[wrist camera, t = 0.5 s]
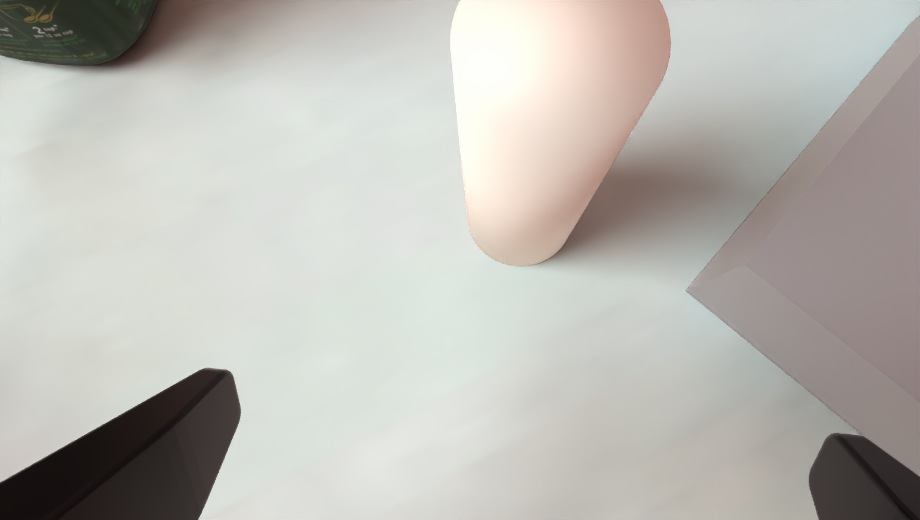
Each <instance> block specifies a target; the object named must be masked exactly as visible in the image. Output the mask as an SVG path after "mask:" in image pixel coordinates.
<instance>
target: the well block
mask: <svg viewBox="0 0 920 520" xmlns="http://www.w3.org/2000/svg"><path fill="white" fill-rule="evenodd" d="M686 291H687V292H688V293H689V294H691V295H692V296H693V297H694V298H695V299H697V300H698V301H699V302H700V303H702V304H703V305H704V306H705V307H706V308H708V309H709V310H710V311H711V312H713V313H714V314H715V315H716V316H717V317H719V318H720V319H721V320H722V321H724V322H725V323H726V324H727V325H729V326H730V327H731V328H732V329H733V330H735V331H736V332H737V333H738V334H740V335H741V336H742V337H743V338H744V339H746V340H747V341H748V342H749V343H751V344H752V345H753V346H754V347H755V348H757V349H758V350H759V351H760V352H762V353H763V354H764V355H765V356H766V357H768V358H769V359H770V360H771V361H773V362H774V363H775V364H776V365H777V366H779V367H780V368H781V369H782V370H784V371H785V372H786V373H787V374H789V375H790V376H791V377H792V378H793V379H795V380H796V381H797V382H798V383H800V384H801V385H802V386H803V387H804V388H806V389H807V390H808V391H809V392H811V393H812V394H813V395H814V396H815V397H817V398H818V399H819V400H820V401H822V402H823V403H824V404H825V405H826V406H828V407H829V408H830V409H831V410H833V411H834V412H835V413H836V414H837V415H839V416H840V417H841V418H842V419H844V420H845V421H846V422H847V423H849V424H850V425H851V426H852V427H853V428H855V429H856V430H857V431H858V432H860V433H861V434H862V435H863V436H864V437H866V438H867V439H868V440H870V441H871V442H873V443H874V444H876V445H877V446H878V447H880V448H881V449H882V450H884V451H885V452H887V453H888V454H889V455H891V456H892V457H894V458H895V459H896V460H898V461H899V462H900V463H902V464H903V465H905V466H906V467H907V468H909V469H910V470H911V471H913V472H914V473H916V474H917V475H918V476H920V16H918V17H917V18H916V19H915V20H914V21H912V22H911V24H910V25H909V26H908V27H907V28H906V30H905V31H904V32H903V33H902V34H901V36H900V37H899V38H898V39H897V40H896V41H895V43H894V44H893V45H892V46H891V47H890V49H889V50H888V51H887V52H886V53H885V55H884V56H883V57H882V58H881V59H880V60H879V62H878V63H877V64H876V65H875V66H874V68H873V69H872V70H871V71H870V72H869V73H868V75H867V76H866V77H865V78H864V79H863V81H862V82H861V83H860V84H859V85H858V87H857V88H856V89H855V90H854V91H853V92H852V94H851V95H850V96H849V97H848V98H847V100H846V101H845V102H844V103H843V104H842V106H841V107H840V108H839V109H838V110H837V111H836V113H835V114H834V115H833V116H832V117H831V119H830V120H829V121H828V122H827V123H826V125H825V126H824V127H823V128H822V129H821V130H820V132H819V133H818V134H817V135H816V136H815V138H814V139H813V140H812V141H811V142H810V144H809V145H808V146H807V147H806V148H805V149H804V151H803V152H802V153H801V154H800V155H799V157H798V158H797V159H796V160H795V161H794V163H793V164H792V165H791V166H790V167H789V168H788V170H787V171H786V172H785V173H784V174H783V176H782V177H781V178H780V179H779V180H778V181H777V183H776V184H775V185H774V186H773V187H772V189H771V190H770V191H769V192H768V193H767V195H766V196H765V197H764V198H763V199H762V200H761V202H760V203H759V204H758V205H757V206H756V208H755V209H754V210H753V211H752V212H751V214H750V215H749V216H748V217H747V218H746V219H745V221H744V222H743V223H742V224H741V225H740V227H739V228H738V229H737V230H736V231H735V233H734V234H733V235H732V236H731V237H730V238H729V240H728V241H727V242H726V243H725V244H724V246H723V247H722V248H721V249H720V250H719V252H718V253H717V254H716V255H715V256H714V257H713V259H712V260H711V261H710V262H709V263H708V265H707V266H706V267H705V268H704V269H703V271H702V272H701V273H700V274H699V275H698V276H697V278H696V279H695V280H694V281H693V282H692V284H691V285H690V286H689V287H688V288H687V289H686Z"/></svg>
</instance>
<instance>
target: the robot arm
mask: <svg viewBox="0 0 920 520" xmlns="http://www.w3.org/2000/svg"><path fill="white" fill-rule="evenodd" d="M240 415H241V407H240V403H239V398H238V394H237V390H236V385H235V381H234V377H233V375H232V373H231V372H230V371H228V370H224V369H214V368H204V369H201V370H199V371H197V372H196V373H194V374H192V375H190V376H188V377H187V378H185V379H183V380H181V381H180V382H178V383H176V384H174V385H172V386H171V387H169V388H167V389H165V390H164V391H162V392H160V393H158V394H157V395H155V396H153V397H151V398H149V399H148V400H146V401H144V402H142V403H141V404H139V405H137V406H135V407H133V408H132V409H130V410H128V411H126V412H125V413H123V414H121V415H119V416H118V417H116V418H114V419H112V420H110V421H109V422H107V423H105V424H103V425H102V426H100V427H98V428H96V429H94V430H93V431H91V432H89V433H87V434H86V435H84V436H82V437H80V438H79V439H77V440H75V441H73V442H71V443H70V444H68V445H66V446H64V447H63V448H61V449H59V450H57V451H55V452H54V453H52V454H50V455H48V456H47V457H45V458H43V459H41V460H39V461H38V462H36V463H34V464H32V465H31V466H29V467H27V468H25V469H23V470H22V471H20V472H18V473H16V474H15V475H13V476H11V477H9V478H8V479H6V480H4V481H2V482H0V520H198V519H199V517H200V515H201V513H202V511H203V508H204V506H205V504H206V502H207V499H208V497H209V495H210V492H211V490H212V487H213V485H214V482H215V480H216V477H217V475H218V473H219V470H220V468H221V465H222V463H223V460H224V458H225V456H226V453H227V451H228V448H229V446H230V443H231V441H232V438H233V436H234V434H235V431H236V429H237V426H238V424H239V420H240ZM809 487H810V491H811V494H812V498H813V501H814V505H815V508H816V511H817V515H818V518H819V520H920V476H918V475H917V474H916V473H914V472H913V471H911V470H910V469H909V468H907V467H906V466H905V465H903V464H902V463H900V462H899V461H898V460H896V459H895V458H894V457H892V456H891V455H889V454H888V453H887V452H885V451H884V450H882V449H881V448H880V447H878V446H877V445H876V444H874V443H873V442H871V441H870V440H868V439H867V438H865V437H863V436H859V435H850V434H841V433H833V434H831V435H829V436H828V437H827V438H826V439H825V441H824V443H823V445H822V447H821V449H820V451H819V453H818V456H817V458H816V460H815V462H814V464H813V466H812V468H811V470H810V474H809Z"/></svg>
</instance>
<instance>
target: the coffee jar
mask: <svg viewBox="0 0 920 520" xmlns="http://www.w3.org/2000/svg"><path fill="white" fill-rule="evenodd" d="M157 1H158V0H0V55H2V56H6V57H11V58H15V59H20V60H26V61H34V62H41V63H50V64H64V65H94V64H101V63H105V62H108V61H111V60H113V59H115V58H117V57H118V56H119V55H120V54H122V53H123V52H125V51H126V50H127V49H128V48H129V47H130V46H132V45H133V44H134V43H135V42H136V40H137V39H138V38H139V36H140V35H141V33H142V32H143V30H144V29H145V28H146V26H147V25H148V23H149V21H150V19H151V16H152V14H153V12H154V10H155V8H156V5H157Z"/></svg>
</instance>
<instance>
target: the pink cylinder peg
mask: <svg viewBox="0 0 920 520" xmlns="http://www.w3.org/2000/svg"><path fill="white" fill-rule="evenodd" d="M450 48H451V58H452V69H453V79H454V89H455V100H456V110H457V120H458V131H459V141H460V151H461V162H462V172H463V182H464V192H465V203H466V213H467V222H468V227H469V231H470V233H471V236H472V238H473V240H474V241H475V243H476V244H477V246H478V247H479V248H480V249H481V250H482V251H483V252H484V253H485V254H486V255H488V256H489V257H490V258H492V259H494V260H496V261H498V262H500V263H503V264H507V265H511V266H530V265H534V264H538V263H540V262H543V261H545V260H547V259H549V258H550V257H552V256H553V255H554V254H556V253H557V252H558V251H559V250H560V249H561V247H562V246H563V245H564V244H565V242H566V240H567V239H568V237H569V235H570V234H571V232H572V230H573V229H574V227H575V225H576V224H577V222H578V220H579V219H580V217H581V215H582V214H583V212H584V210H585V209H586V207H587V205H588V204H589V202H590V200H591V199H592V197H593V195H594V194H595V192H596V190H597V189H598V187H599V185H600V184H601V182H602V180H603V179H604V177H605V175H606V174H607V172H608V170H609V169H610V167H611V165H612V164H613V162H614V160H615V159H616V157H617V155H618V154H619V152H620V150H621V149H622V147H623V146H624V144H625V142H626V141H627V139H628V137H629V136H630V134H631V132H632V131H633V129H634V127H635V126H636V124H637V122H638V121H639V119H640V117H641V116H642V114H643V112H644V111H645V109H646V107H647V106H648V104H649V102H650V101H651V99H652V97H653V96H654V94H655V92H656V91H657V89H658V87H659V85H660V84H661V82H662V80H663V77H664V75H665V72H666V70H667V66H668V62H669V58H670V48H671V38H670V28H669V24H668V19H667V16H666V14H665V11H664V8H663V6H662V4H661V2H660V0H460V2H459V4H458V6H457V8H456V11H455V14H454V17H453V21H452V26H451V32H450Z"/></svg>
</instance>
